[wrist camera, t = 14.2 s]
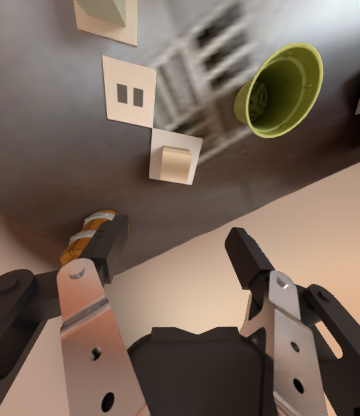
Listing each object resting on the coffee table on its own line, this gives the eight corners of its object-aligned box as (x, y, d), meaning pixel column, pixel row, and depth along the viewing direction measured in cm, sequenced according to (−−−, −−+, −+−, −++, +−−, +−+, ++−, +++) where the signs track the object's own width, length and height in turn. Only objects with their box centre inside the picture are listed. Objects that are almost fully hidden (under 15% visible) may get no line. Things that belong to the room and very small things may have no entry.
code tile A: (103, 55, 20) (102, 55, 20) (156, 70, 21) (156, 70, 21) (108, 118, 25) (107, 118, 24) (152, 127, 26) (152, 128, 25)
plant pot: (274, 123, 27) (314, 124, 19) (227, 140, 28) (247, 147, 20) (278, 57, 22) (333, 25, 14) (220, 81, 23) (243, 63, 15)
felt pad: (152, 127, 26) (152, 128, 25) (202, 138, 27) (203, 138, 27) (149, 177, 31) (149, 178, 31) (191, 184, 32) (191, 184, 32)
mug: (131, 211, 36) (110, 261, 23) (127, 251, 44) (110, 303, 32) (87, 203, 34) (38, 253, 21) (92, 247, 42) (58, 301, 30)
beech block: (164, 145, 27) (162, 150, 22) (188, 149, 28) (192, 155, 23) (161, 169, 30) (159, 179, 25) (183, 172, 30) (186, 183, 25)
